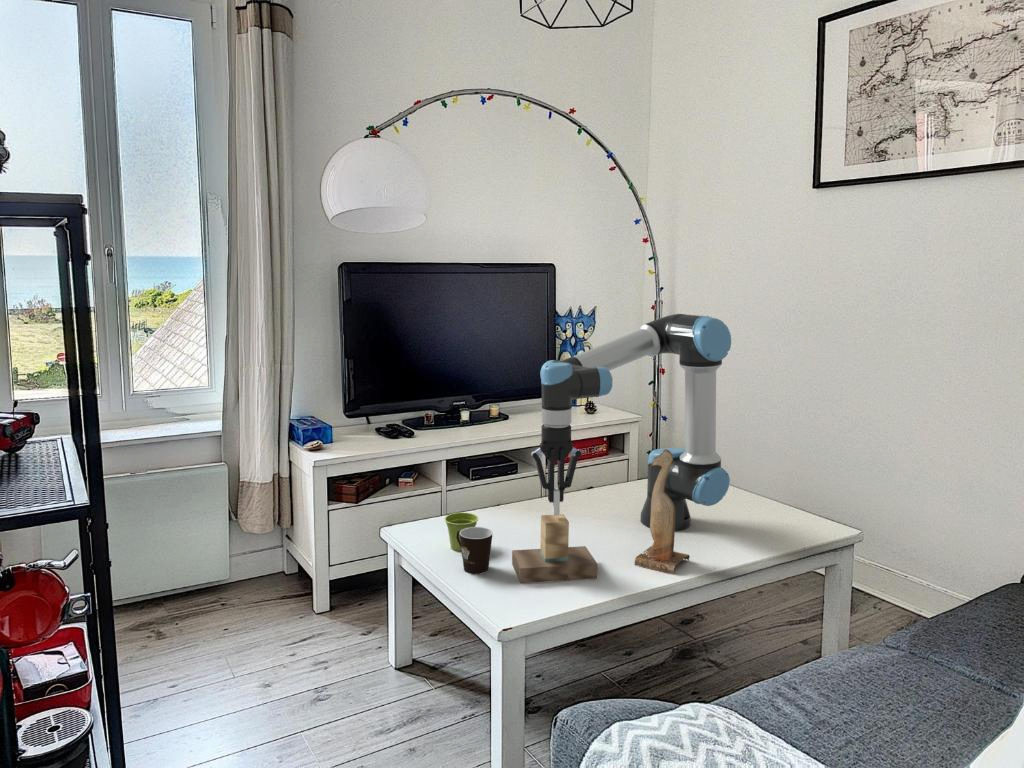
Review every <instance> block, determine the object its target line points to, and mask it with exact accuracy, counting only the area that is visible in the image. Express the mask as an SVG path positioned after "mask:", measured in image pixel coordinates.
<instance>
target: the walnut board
mask: <svg viewBox="0 0 1024 768" xmlns="http://www.w3.org/2000/svg"><path fill="white" fill-rule="evenodd" d="M540 550H541V548H532V549H530V548H529V549H514V550H513V549H512V551H511V565H512V568H513V570H514V572H515V575H516V577H517V579H518V582H519V584H531V583H549V582H550V583H551V582H561V581H562V582H564V581H577V580H579V581H580V580H581V581H582V580H593V579H594V580H596V579H598V564H599V563H598V562H597V561H596V559H595V558H594V556H593V555H592V553H591V552H590V551H589V549H588V548H587V547H586V545H583V546H582V545H581V546H568V561H556V562H545V561H544V559H543V557H542V555H541V554H540Z"/></svg>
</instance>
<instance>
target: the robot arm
mask: <svg viewBox="0 0 1024 768" xmlns="http://www.w3.org/2000/svg"><path fill="white" fill-rule="evenodd" d="M731 348H732V335H731V331H730V329H729V327H728V326H727V324H726V323H724V321H722V320H721V319H719V318H715V317H712V316H708V315H707V316H706V315H699V314H698V315H695V314H686V313H673V314H669V315H666V316H663V317H660V318H657V319H655V320H652V321H649V322H647V323H645V324H642V325H640V326H639V327H638V328H637V330H636V331H634V332H631V333H628V334H627V335H624V336H621V337H619V338H616V339H614V340H611V341H609V342H606V343H603V344H601V345H598V346H596V347H594V348H591V349H588V350H586V351H583V352H580V353H578V354H575V355H572V356H571V357H567V358H565V359H562V360H558V359H554V360H553V359H552V360H551V359H550V360H547V361H546V362H545V363H543V365H542V366H541V368H540V373H539V374H540V379H541V381H540V383H541V424H542V425H541V436H540V438H541V440H540V444H539V446H538V447H539V448H537V449H535V450H532V451H530V455H531V456H532V458H533V459H534V461H535V465H536V470H537V474H538V477H539V482H540V486H541V488H543V489H544V490H547V500H548V503H551V515H554V516H558V515H560V514H561V513H560V511H561V509H560V507H561V506H560V505H561V503H563V502H564V495H565V489H567V488H570V487H572V482H573V479H574V477H575V471H576V467H577V463H578V460H579V459H580V457H581V456H582V452H581V450H580V449H579V448H576V447H574V445H573V443H572V426H571V423H572V406H573V405H572V404H573V400H579V399H589V398H599V397H603V396H606V395H608V394H610V393H611V391H612V389H613V376H612V373H611V372H610V371H612V370H615V369H616V368H620V367H622V366H624V365H626V364H629V363H631V362H634V361H636V360H639V359H642V358H643V357H646V356H648V357H655V356H658V355H661V354H673V355H679V358H678V359H679V362H678V363H679V366H680V367H681V368H682V369H683V370H684V448H680V447H663V448H657V449H653V450H651V452H650V453H649V455H648V462H647V489H646V491H647V492H646V493H647V494H646V495H647V496H646V499H645V502H644V503H643V507H642V510H641V512H640V519H639V520H640V523H641V524H642V525H643V526H646V527H648V528H650V520H651V499H652V492H653V488H654V485H655V482H656V480H657V477H658V475H659V472H660V470H661V468H660V467H652V461H653V458H654V457H656V456H658V455H660V454H661V453H662V452H663V451H664V449H667V450H669V451H670V452H671V453H672V455H673V462H672V464H671V466H670V469H669V472H668V475H667V478H666V483H665V488H664V492H665V493H666V494H667V495H668V496H669V497H670V499H671V500H672V502H673V504H674V506H675V511H676V515H675V531H681V530H686V529H687V528H689V527H690V526H691V521H692V520H691V519H692V518H691V514H690V510H689V506H688V504H687V503H688V502H687V500H688V501H691V502H693V503H695V504H697V505H702V506H706V507H710V506H711V507H712V506H714V505H716V504H718V503H719V502H720V501H722V500H723V498H724V497H725V496H726V494H727V492H728V490H729V487H730V480H731V479H730V475H729V473H728V472H727V471H726V470H725V469H724V468H722V457H721V455H720V454H718V453H717V452H716V450H717V449H716V447H717V446H716V444H717V441H716V440H717V439H716V436H717V435H716V434H717V433H716V432H717V428H716V427H717V370H718V369H720V367H722V365H723V360H724V359H725V358H727V356H728V354H729V351H730V350H731ZM542 454H543V455H544V456H545V458H546V459H547V479H546V474H545V471H544V467H543V464H542V460H541V458H542ZM569 455H570V459H569V463H568V467H567V470H566V473H565V464H566V459H567V457H568V456H569ZM556 461H557V487H555V465H556Z"/></svg>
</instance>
